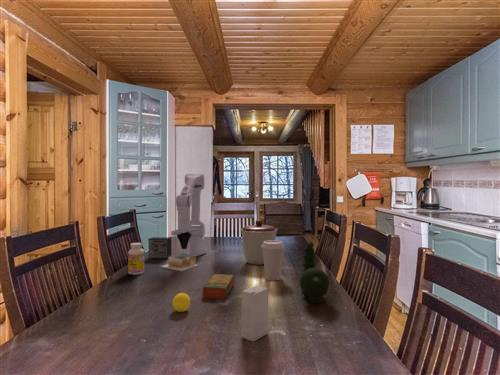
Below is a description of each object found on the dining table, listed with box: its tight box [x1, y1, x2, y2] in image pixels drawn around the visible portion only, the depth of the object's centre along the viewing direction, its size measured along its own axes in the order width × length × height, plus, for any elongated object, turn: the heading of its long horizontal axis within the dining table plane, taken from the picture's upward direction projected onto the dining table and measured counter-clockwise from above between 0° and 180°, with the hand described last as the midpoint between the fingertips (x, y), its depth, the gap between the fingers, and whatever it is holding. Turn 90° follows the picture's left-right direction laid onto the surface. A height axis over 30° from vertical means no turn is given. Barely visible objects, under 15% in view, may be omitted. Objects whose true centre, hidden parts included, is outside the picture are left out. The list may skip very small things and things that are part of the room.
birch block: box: [168, 253, 197, 268], centre depth 157 cm, size 4×8×10 cm
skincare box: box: [241, 285, 269, 342], centre depth 85 cm, size 6×4×12 cm
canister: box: [240, 219, 278, 266], centre depth 163 cm, size 18×18×21 cm
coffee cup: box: [261, 239, 285, 281], centre depth 136 cm, size 10×10×15 cm
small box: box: [147, 236, 173, 260], centre depth 174 cm, size 11×6×10 cm, turn 84°
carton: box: [202, 273, 235, 300], centre depth 121 cm, size 8×16×4 cm, turn 173°
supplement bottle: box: [127, 242, 145, 276], centre depth 145 cm, size 7×7×13 cm
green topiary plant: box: [299, 241, 330, 304], centre depth 115 cm, size 9×19×25 cm
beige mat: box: [160, 263, 199, 272], centre depth 155 cm, size 11×13×1 cm
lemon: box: [171, 292, 191, 313], centre depth 102 cm, size 7×5×5 cm
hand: (184, 248), depth 158 cm, fingers closed
